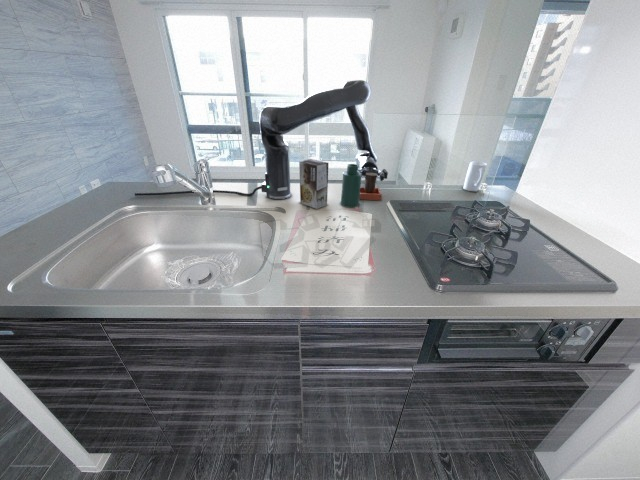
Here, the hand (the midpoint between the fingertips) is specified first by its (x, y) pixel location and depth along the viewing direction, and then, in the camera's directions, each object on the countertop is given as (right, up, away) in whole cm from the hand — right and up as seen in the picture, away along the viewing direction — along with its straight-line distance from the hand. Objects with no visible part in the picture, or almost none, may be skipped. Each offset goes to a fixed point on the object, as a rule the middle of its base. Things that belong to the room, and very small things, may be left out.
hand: (371, 178), depth 106 cm
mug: (+49, -2, +15) cm, 52 cm away
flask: (-9, -11, -3) cm, 14 cm away
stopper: (0, -6, +5) cm, 8 cm away
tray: (0, -6, +5) cm, 8 cm away
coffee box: (-23, -11, -3) cm, 26 cm away
